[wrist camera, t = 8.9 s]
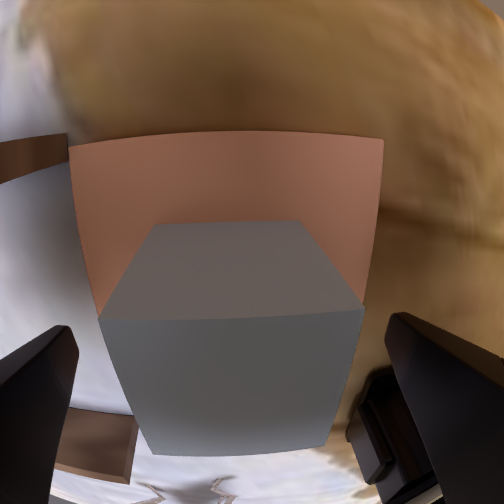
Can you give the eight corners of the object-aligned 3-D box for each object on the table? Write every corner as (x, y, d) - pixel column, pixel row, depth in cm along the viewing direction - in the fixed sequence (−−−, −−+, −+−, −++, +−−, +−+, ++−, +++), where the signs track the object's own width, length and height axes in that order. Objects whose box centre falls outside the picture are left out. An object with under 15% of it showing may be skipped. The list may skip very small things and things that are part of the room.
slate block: (299, 220, 9) (365, 308, 5) (290, 335, 11) (324, 445, 7) (154, 224, 9) (97, 318, 4) (171, 340, 11) (152, 454, 6)
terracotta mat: (372, 138, 9) (384, 139, 9) (339, 364, 13) (344, 375, 13) (79, 145, 8) (68, 147, 8) (126, 373, 12) (122, 385, 12)
